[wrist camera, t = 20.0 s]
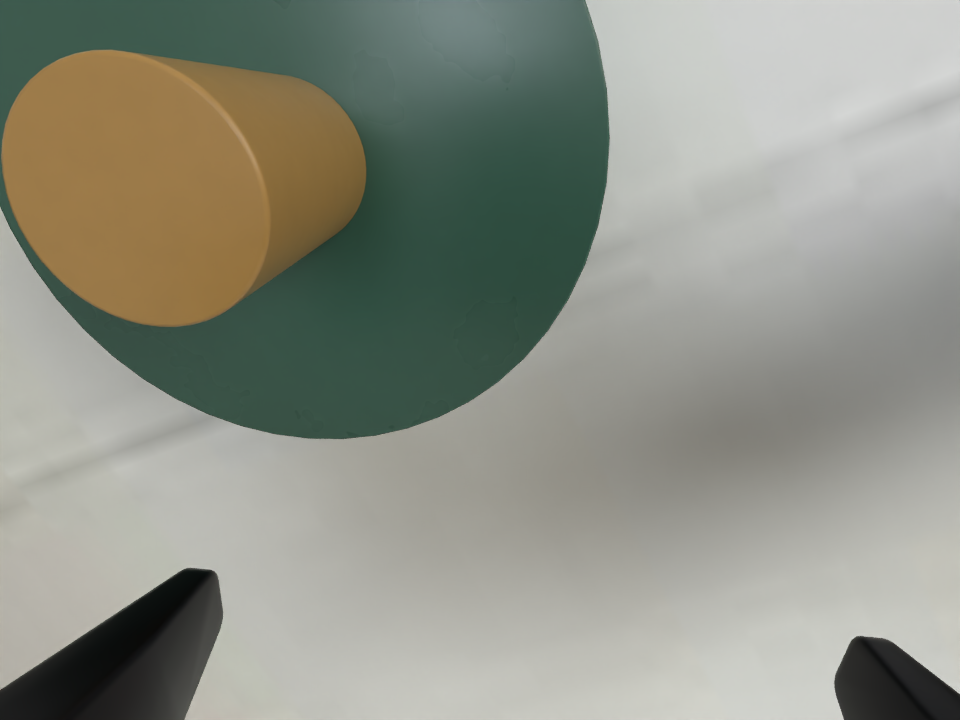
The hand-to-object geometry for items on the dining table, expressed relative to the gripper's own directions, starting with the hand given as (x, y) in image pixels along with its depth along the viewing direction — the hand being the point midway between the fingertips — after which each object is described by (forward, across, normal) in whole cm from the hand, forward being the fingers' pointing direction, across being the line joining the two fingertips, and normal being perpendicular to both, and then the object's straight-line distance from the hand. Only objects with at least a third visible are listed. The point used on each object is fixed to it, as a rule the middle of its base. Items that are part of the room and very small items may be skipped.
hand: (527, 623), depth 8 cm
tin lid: (+6, +5, -5) cm, 10 cm away
